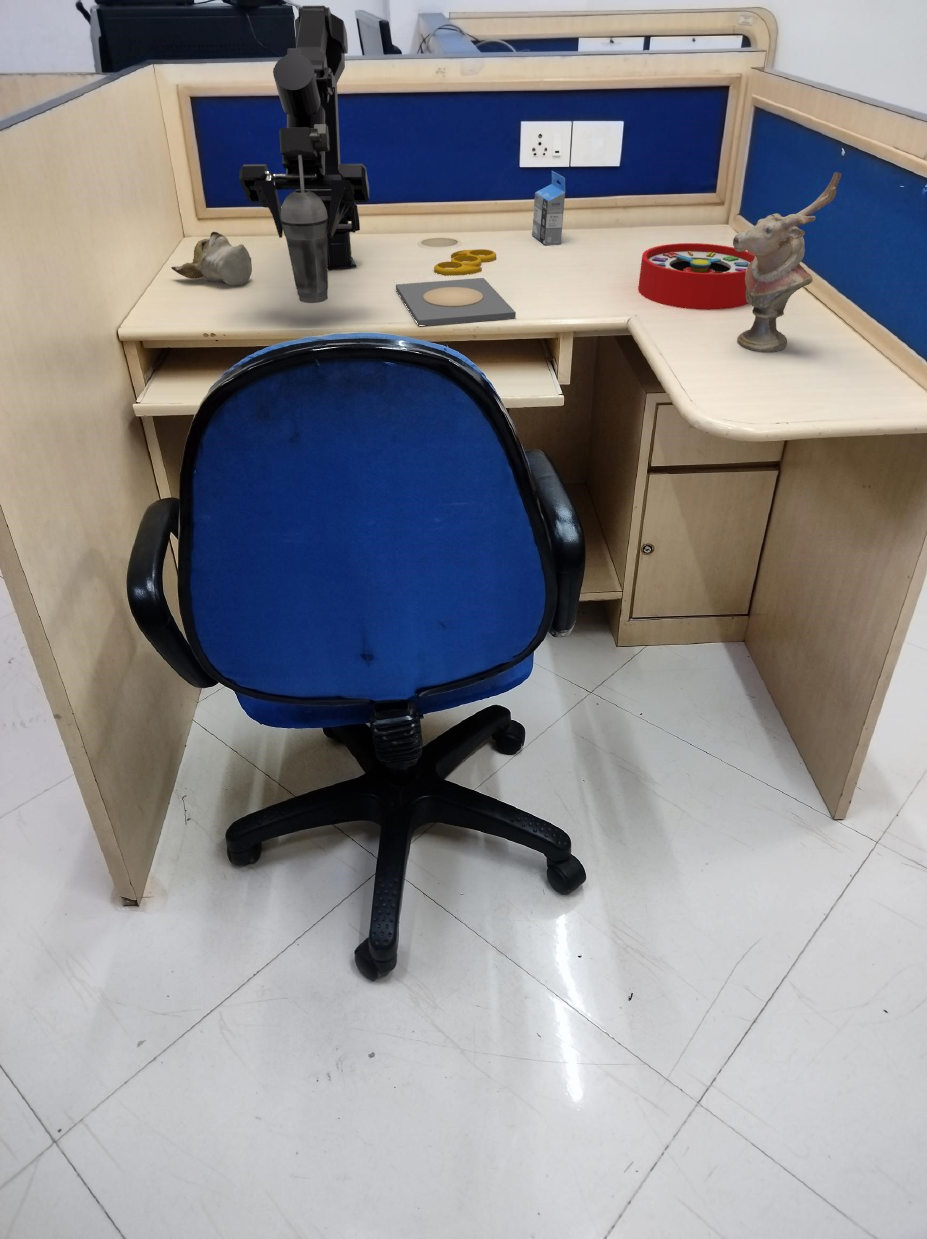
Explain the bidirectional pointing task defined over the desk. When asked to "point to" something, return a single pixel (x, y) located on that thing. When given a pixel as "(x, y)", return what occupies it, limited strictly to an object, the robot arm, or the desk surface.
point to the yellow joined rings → (465, 267)
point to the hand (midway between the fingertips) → (305, 235)
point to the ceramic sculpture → (218, 261)
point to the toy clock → (695, 276)
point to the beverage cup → (307, 241)
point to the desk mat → (454, 302)
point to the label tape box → (549, 212)
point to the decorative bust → (775, 270)
